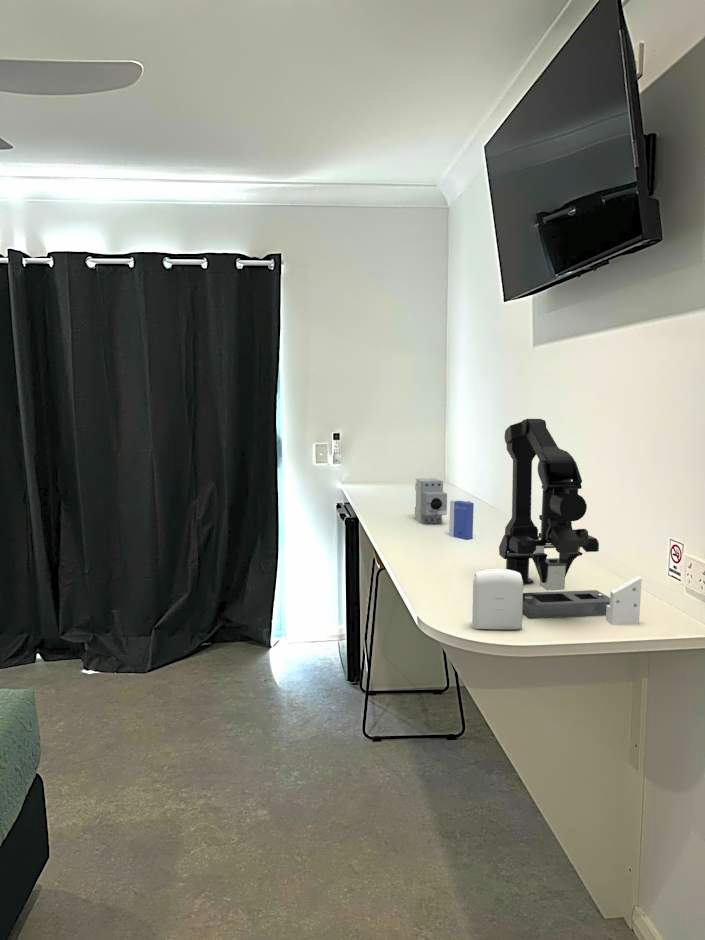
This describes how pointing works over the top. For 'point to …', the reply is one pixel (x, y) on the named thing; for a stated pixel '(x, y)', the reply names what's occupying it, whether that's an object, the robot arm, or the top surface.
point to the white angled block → (625, 603)
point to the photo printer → (497, 599)
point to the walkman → (461, 519)
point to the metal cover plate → (564, 604)
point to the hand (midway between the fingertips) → (552, 582)
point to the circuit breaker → (430, 501)
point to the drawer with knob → (554, 574)
